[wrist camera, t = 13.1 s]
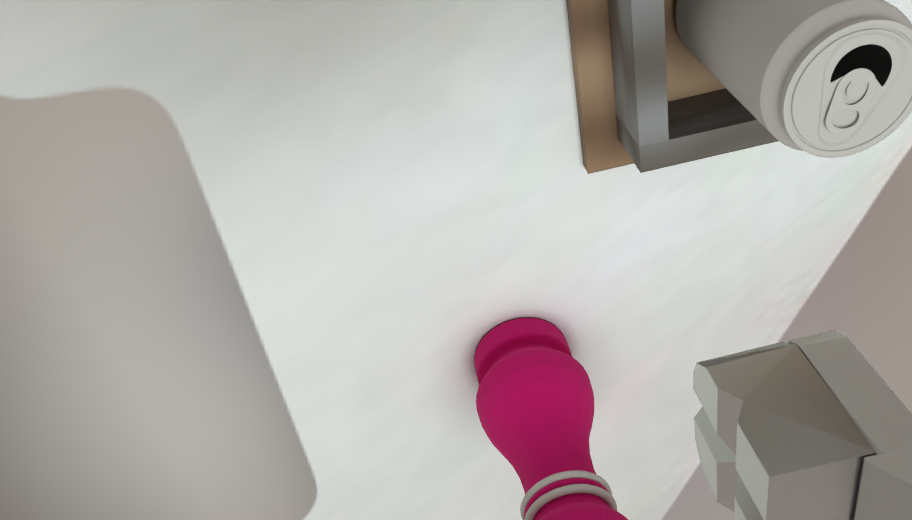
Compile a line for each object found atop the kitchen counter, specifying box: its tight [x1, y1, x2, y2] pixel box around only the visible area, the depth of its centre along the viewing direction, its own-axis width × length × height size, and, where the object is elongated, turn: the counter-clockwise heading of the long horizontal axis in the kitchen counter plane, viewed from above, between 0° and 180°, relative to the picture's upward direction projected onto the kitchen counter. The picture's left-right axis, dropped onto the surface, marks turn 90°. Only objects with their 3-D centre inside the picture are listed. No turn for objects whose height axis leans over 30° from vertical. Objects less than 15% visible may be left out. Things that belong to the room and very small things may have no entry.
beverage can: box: [676, 0, 912, 158], centre depth 36 cm, size 6×6×12 cm
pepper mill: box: [474, 318, 628, 520], centre depth 46 cm, size 7×7×20 cm
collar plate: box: [567, 0, 778, 174], centre depth 40 cm, size 15×15×5 cm
